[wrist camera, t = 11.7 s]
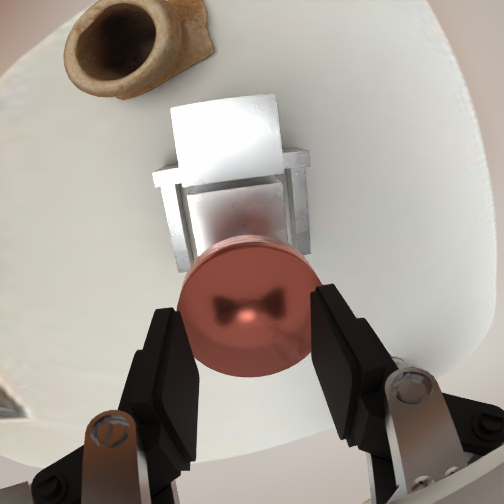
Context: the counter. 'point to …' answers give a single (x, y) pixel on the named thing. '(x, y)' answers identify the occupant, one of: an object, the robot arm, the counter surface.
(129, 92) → the brown boot vase
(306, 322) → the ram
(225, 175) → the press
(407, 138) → the counter surface
